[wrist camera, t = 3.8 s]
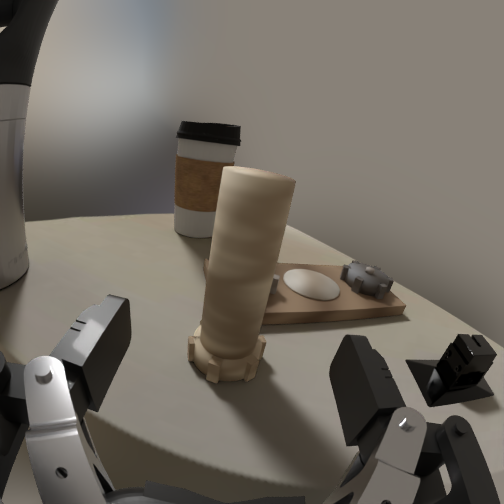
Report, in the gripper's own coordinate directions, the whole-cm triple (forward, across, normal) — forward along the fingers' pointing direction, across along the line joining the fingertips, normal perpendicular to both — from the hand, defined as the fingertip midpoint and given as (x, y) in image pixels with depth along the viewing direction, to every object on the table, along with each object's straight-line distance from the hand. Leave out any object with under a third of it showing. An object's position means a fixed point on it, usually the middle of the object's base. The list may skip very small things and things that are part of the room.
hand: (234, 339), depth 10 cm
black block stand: (+4, -20, +8) cm, 22 cm away
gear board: (+16, -8, +7) cm, 19 cm away
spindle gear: (+6, 0, +7) cm, 9 cm away
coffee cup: (+29, +6, +7) cm, 31 cm away
